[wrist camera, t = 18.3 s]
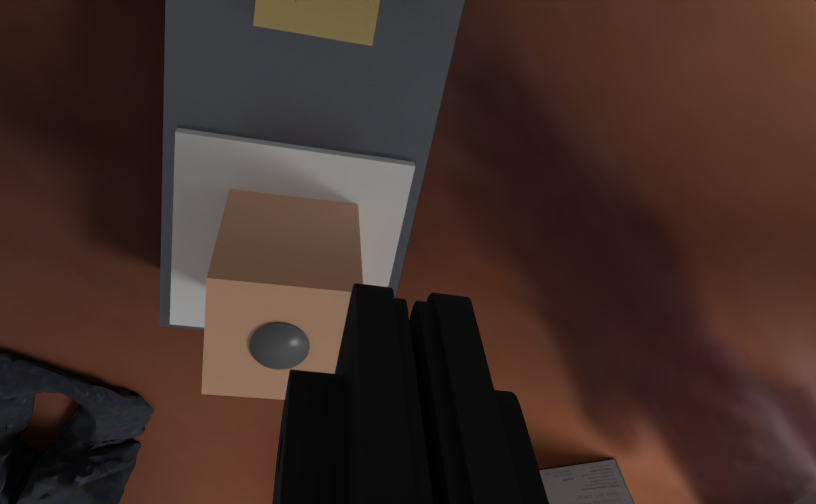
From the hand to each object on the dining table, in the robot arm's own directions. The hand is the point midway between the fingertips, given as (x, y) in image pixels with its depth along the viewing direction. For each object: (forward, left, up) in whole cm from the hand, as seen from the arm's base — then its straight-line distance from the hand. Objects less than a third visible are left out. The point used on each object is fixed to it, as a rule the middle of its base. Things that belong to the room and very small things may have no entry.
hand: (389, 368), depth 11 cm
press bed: (+1, +4, -21) cm, 22 cm away
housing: (+1, +9, -17) cm, 19 cm away
